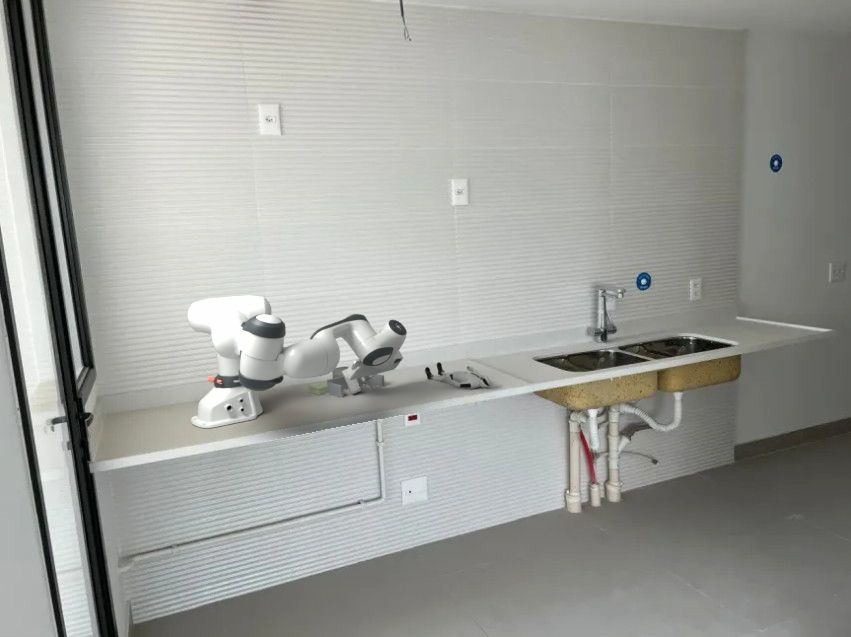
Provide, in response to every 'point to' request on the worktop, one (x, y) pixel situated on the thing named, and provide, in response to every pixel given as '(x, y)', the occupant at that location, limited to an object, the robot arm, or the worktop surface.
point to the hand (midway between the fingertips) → (365, 379)
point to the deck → (339, 383)
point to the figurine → (460, 378)
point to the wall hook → (354, 384)
